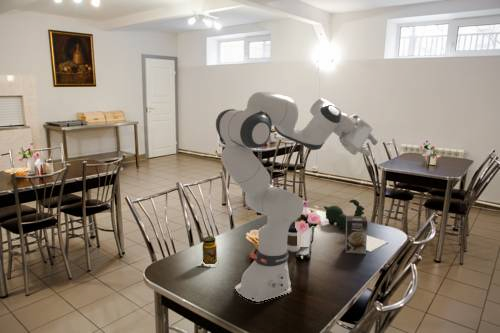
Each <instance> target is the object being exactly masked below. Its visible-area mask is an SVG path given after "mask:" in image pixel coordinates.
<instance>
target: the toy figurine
mask: <svg viewBox="0 0 500 333" xmlns="http://www.w3.org/2000/svg"><path fill="white" fill-rule="evenodd" d="M348 202H349V204H350V203H352V204H353V205H354V206H355V207H356V208H355V211H354V215H353V216H359V217H363V215H365V212H364V210H365V207H363V206H362V205H360V202H359V201H358V200H357V199H349V201H348ZM323 208H324V210H325V219H326V220H328V224H330V226H332V225H334V224H335V227H336V228H338V229H339V228H340V227H342V230H343V231H344V232H346V216H347V215H346V214H345V213H344V211H343V209H342V208H341V207H340V206H338V205H330V206H327V205H326V206H325V205H324V206H323Z"/></svg>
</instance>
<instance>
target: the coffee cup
mask: <svg viewBox="0 0 500 333" xmlns="http://www.w3.org/2000/svg"><path fill="white" fill-rule="evenodd" d="M295 222H296V221H294V222H293V223H292V224H291V225H290V227H289V230H288V237H287V249H288V252H293V253H296V252H298V251H297V231H296V228H295Z"/></svg>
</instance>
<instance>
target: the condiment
mask: <svg viewBox="0 0 500 333" xmlns="http://www.w3.org/2000/svg"><path fill="white" fill-rule="evenodd" d="M202 240H203V242H202V259H203V262H204V263H205V264H215V263H216V262H217V260H218V259H217V257H218V254H217V253H218V252H217V243H216V237H214V236H212V235H210V236H205V237H203V239H202Z"/></svg>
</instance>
